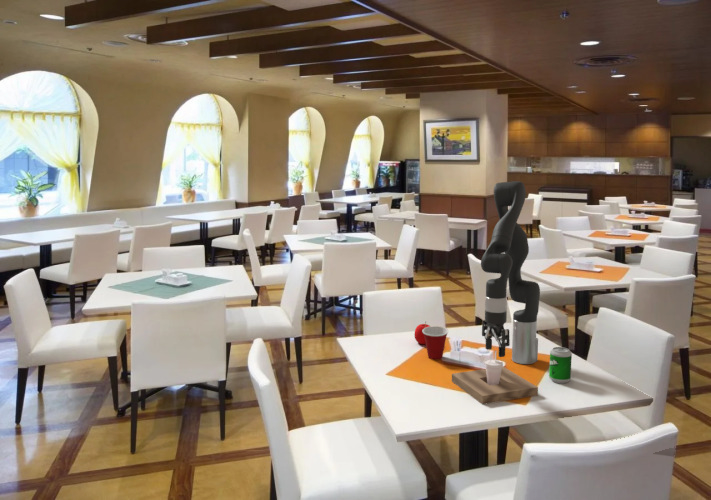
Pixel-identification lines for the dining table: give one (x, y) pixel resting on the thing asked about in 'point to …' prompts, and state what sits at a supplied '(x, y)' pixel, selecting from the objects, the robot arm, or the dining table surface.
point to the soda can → (560, 365)
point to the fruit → (420, 333)
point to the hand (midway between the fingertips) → (495, 352)
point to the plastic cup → (435, 341)
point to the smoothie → (493, 371)
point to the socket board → (494, 386)
